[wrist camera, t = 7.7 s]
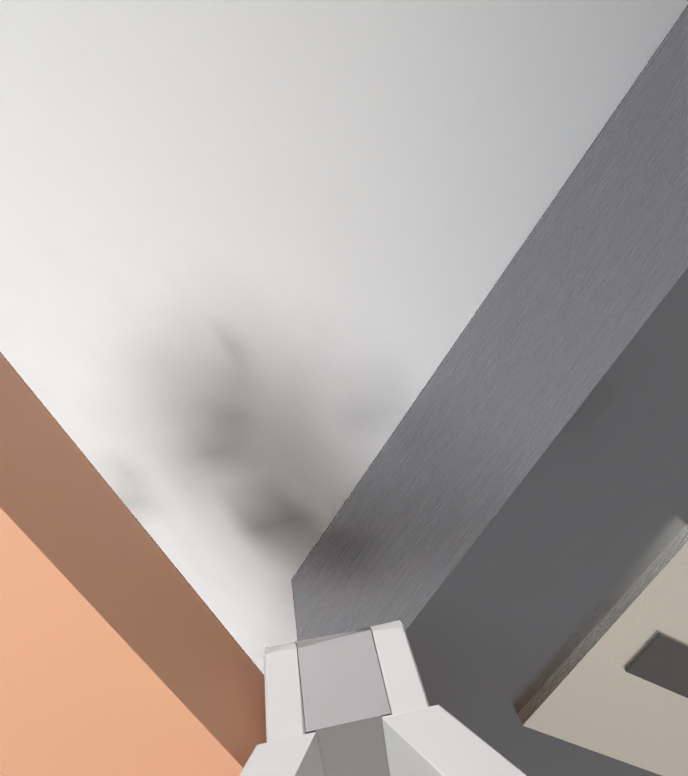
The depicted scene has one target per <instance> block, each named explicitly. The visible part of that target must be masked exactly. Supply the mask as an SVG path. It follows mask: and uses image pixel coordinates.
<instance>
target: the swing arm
mask: <svg viewBox="0 0 688 776" xmlns="http://www.w3.org/2000/svg"><path fill="white" fill-rule="evenodd" d="M266 742H267V740H266V708H265V676H264V675H263V674H262V672H261V671H260V670H259V669H258V667H257V666H256V665H255V664H254V663H253V661H252V660H251V659H250V658H249V656H248V655H247V654H246V653H245V651H244V650H243V649H242V648H241V647H240V645H239V644H238V643H237V642H236V640H235V639H234V638H233V637H232V636H231V634H230V633H229V632H228V631H227V629H226V628H225V627H224V626H223V625H222V623H221V622H220V621H219V620H218V618H217V617H216V616H215V615H214V613H213V612H212V611H211V610H210V609H209V607H208V606H207V605H206V604H205V602H204V601H203V600H202V599H201V598H200V596H199V595H198V594H197V593H196V591H195V590H194V589H193V588H192V586H191V585H190V584H189V583H188V582H187V580H186V579H185V578H184V577H183V575H182V574H181V573H180V572H179V571H178V569H177V568H176V567H175V566H174V564H173V563H172V562H171V561H170V559H169V558H168V557H167V556H166V555H165V553H164V552H163V551H162V550H161V548H160V547H159V546H158V545H157V544H156V542H155V541H154V540H153V539H152V537H151V536H150V535H149V534H148V533H147V531H146V530H145V529H144V528H143V526H142V525H141V524H140V523H139V521H138V520H137V519H136V518H135V517H134V515H133V514H132V513H131V512H130V510H129V509H128V508H127V507H126V506H125V504H124V503H123V502H122V501H121V499H120V498H119V497H118V496H117V494H116V493H115V492H114V491H113V490H112V488H111V487H110V486H109V485H108V483H107V482H106V481H105V480H104V479H103V477H102V476H101V475H100V474H99V472H98V471H97V470H96V469H95V467H94V466H93V465H92V464H91V463H90V461H89V460H88V459H87V458H86V456H85V455H84V454H83V453H82V452H81V450H80V449H79V448H78V447H77V445H76V444H75V443H74V442H73V441H72V439H71V438H70V437H69V436H68V434H67V433H66V432H65V431H64V429H63V428H62V427H61V426H60V425H59V423H58V422H57V421H56V420H55V418H54V417H53V416H52V415H51V414H50V412H49V411H48V410H47V409H46V407H45V406H44V405H43V404H42V402H41V401H40V400H39V399H38V398H37V396H36V395H35V394H34V393H33V391H32V390H31V389H30V388H29V387H28V385H27V384H26V383H25V382H24V380H23V379H22V378H21V377H20V375H19V374H18V373H17V372H16V371H15V369H14V368H13V367H12V366H11V364H10V363H9V362H8V361H7V360H6V358H5V357H4V356H3V355H2V353H1V352H0V775H1V776H239V775H240V773H241V771H242V770H243V768H244V766H245V764H246V763H247V761H248V759H249V757H250V756H251V754H252V752H253V751H254V749H255V747H256V745H258V744H262V743H266Z"/></svg>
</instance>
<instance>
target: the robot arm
mask: <svg viewBox="0 0 688 776" xmlns="http://www.w3.org/2000/svg"><path fill="white" fill-rule="evenodd" d="M264 676H265V708H266V740H267V742H266V743H262V744H258V745H256V747H255V749H254V751H253V752H252V754H251V756H250V757H249V759H248V761H247V763H246V764H245V766H244V768H243V770H242V771H241V773H240V775H239V776H527V775H525V774H524V773H523V772H522V771H521V770H519V769H518V768H517V767H516V766H514V765H513V764H512V763H511V762H509V761H508V760H507V759H506V758H505V757H503V756H502V755H501V754H500V753H498V752H497V751H496V750H495V749H493V748H492V747H491V746H490V745H488V744H487V743H486V742H485V741H484V740H482V739H481V738H480V737H479V736H477V735H476V734H475V733H474V732H472V731H471V730H470V729H469V728H467V727H466V726H465V725H464V724H463V723H461V722H460V721H459V720H458V719H456V718H455V717H454V716H453V715H451V714H450V713H449V712H448V711H446V710H445V709H444V708H443V707H442V706H440V705H434V706H429V703H428V700H427V696H426V693H425V690H424V687H423V684H422V681H421V678H420V675H419V672H418V668H417V665H416V662H415V659H414V656H413V653H412V650H411V647H410V643H409V640H408V637H407V634H406V631H405V628H404V625H403V623H402V622H401V621H400V620H398V621H394V622H389V623H384V624H380V625H375V626H371V627H370V628H369V627H366V628H361V629H357V630H352V631H348V632H343V633H338V634H334V635H329V636H324V637H319V638H313V639H308V640H302V641H297V642H295V643H289V644H284V645H278V646H273V647H267V648H265V653H264Z"/></svg>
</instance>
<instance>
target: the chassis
mask: <svg viewBox="0 0 688 776" xmlns="http://www.w3.org/2000/svg"><path fill="white" fill-rule="evenodd" d="M292 588H293V598H294V608H295V618H296V629H297V639H298V641H302V640H308V639H313V638H319V637H324V636H329V635H334V634H338V633H343V632H348V631H352V630H357V629H361V628H366V627H369V628H370V627H371V626H375V625H380V624H384V623H389V622H394V621H398V620H400V621H401V622H402V623H403V625H404V628H405V631H406V634H407V637H408V640H409V643H410V647H411V650H412V653H413V656H414V659H415V662H416V665H417V668H418V672H419V675H420V678H421V681H422V684H423V687H424V690H425V693H426V696H427V700H428V703H429V706H434V705H440V706H442V707H443V708H444V709H445V710H446V711H448V712H449V713H450V714H451V715H453V716H454V717H455V718H456V719H458V720H459V721H460V722H461V723H463V724H464V725H465V726H466V727H467V728H469V729H470V730H471V731H472V732H474V733H475V734H476V735H477V736H479V737H480V738H481V739H482V740H484V741H485V742H486V743H487V744H488V745H490V746H491V747H492V748H493V749H495V750H496V751H497V752H498V753H500V754H501V755H502V756H503V757H505V758H506V759H507V760H508V761H509V762H511V763H512V764H513V765H514V766H516V767H517V768H518V769H519V770H521V771H522V772H523V773H524V774H525V775H527V776H688V6H687V7H686V9H685V10H684V12H683V13H682V15H681V16H680V18H679V19H678V20H677V22H676V23H675V25H674V26H673V28H672V29H671V31H670V32H669V34H668V35H667V36H666V38H665V39H664V41H663V42H662V44H661V45H660V47H659V48H658V50H657V51H656V52H655V54H654V55H653V57H652V58H651V60H650V61H649V63H648V64H647V65H646V67H645V68H644V70H643V71H642V73H641V74H640V76H639V77H638V79H637V80H636V81H635V83H634V84H633V86H632V87H631V89H630V90H629V92H628V93H627V94H626V96H625V97H624V99H623V100H622V102H621V103H620V105H619V106H618V108H617V109H616V110H615V112H614V113H613V115H612V116H611V118H610V119H609V121H608V122H607V123H606V125H605V126H604V128H603V129H602V131H601V132H600V134H599V135H598V137H597V138H596V139H595V141H594V142H593V144H592V145H591V147H590V148H589V150H588V151H587V152H586V154H585V155H584V157H583V158H582V160H581V161H580V163H579V164H578V166H577V167H576V168H575V170H574V171H573V173H572V174H571V176H570V177H569V179H568V180H567V182H566V183H565V184H564V186H563V187H562V189H561V190H560V192H559V193H558V195H557V196H556V197H555V199H554V200H553V202H552V203H551V205H550V206H549V208H548V209H547V211H546V212H545V213H544V215H543V216H542V218H541V219H540V221H539V222H538V224H537V225H536V226H535V228H534V229H533V231H532V232H531V234H530V235H529V237H528V238H527V240H526V241H525V242H524V244H523V245H522V247H521V248H520V250H519V251H518V253H517V254H516V255H515V257H514V258H513V260H512V261H511V263H510V264H509V266H508V267H507V269H506V270H505V271H504V273H503V274H502V276H501V277H500V279H499V280H498V282H497V283H496V284H495V286H494V287H493V289H492V290H491V292H490V293H489V295H488V296H487V298H486V299H485V300H484V302H483V303H482V305H481V306H480V308H479V309H478V311H477V312H476V314H475V315H474V316H473V318H472V319H471V321H470V322H469V324H468V325H467V327H466V328H465V329H464V331H463V332H462V334H461V335H460V337H459V338H458V340H457V341H456V343H455V344H454V345H453V347H452V348H451V350H450V351H449V353H448V354H447V356H446V357H445V358H444V360H443V361H442V363H441V364H440V366H439V367H438V369H437V370H436V372H435V373H434V374H433V376H432V377H431V379H430V380H429V382H428V383H427V385H426V386H425V387H424V389H423V390H422V392H421V393H420V395H419V396H418V398H417V399H416V401H415V402H414V403H413V405H412V406H411V408H410V409H409V411H408V412H407V414H406V415H405V416H404V418H403V419H402V421H401V422H400V424H399V425H398V427H397V428H396V430H395V431H394V432H393V434H392V435H391V437H390V438H389V440H388V441H387V443H386V444H385V446H384V447H383V448H382V450H381V451H380V453H379V454H378V456H377V457H376V459H375V460H374V461H373V463H372V464H371V466H370V467H369V469H368V470H367V472H366V473H365V475H364V476H363V477H362V479H361V480H360V482H359V483H358V485H357V486H356V488H355V489H354V490H353V492H352V493H351V495H350V496H349V498H348V499H347V501H346V502H345V504H344V505H343V506H342V508H341V509H340V511H339V512H338V514H337V515H336V517H335V518H334V519H333V521H332V522H331V524H330V525H329V527H328V528H327V530H326V531H325V533H324V534H323V535H322V537H321V538H320V540H319V541H318V543H317V544H316V546H315V547H314V549H313V550H312V551H311V553H310V554H309V556H308V557H307V559H306V560H305V562H304V563H303V564H302V566H301V567H300V569H299V570H298V572H297V573H296V575H295V576H294V578H293V579H292Z"/></svg>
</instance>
